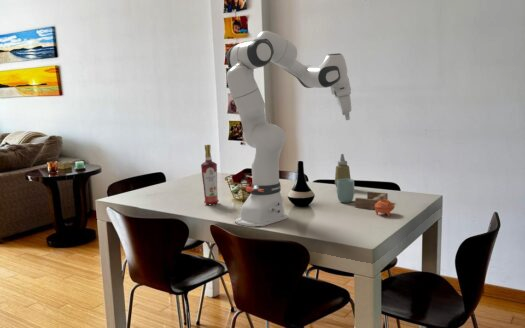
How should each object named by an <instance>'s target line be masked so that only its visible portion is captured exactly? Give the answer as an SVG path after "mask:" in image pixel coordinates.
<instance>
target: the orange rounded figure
mask: <svg viewBox="0 0 525 328" xmlns="http://www.w3.org/2000/svg"><path fill="white" fill-rule="evenodd" d="M374 208H375V214H376V215H379V213H380V214H386V215H387V217H390V215H391V212H392V211H393V210H394V209H395V204H394V203H392V202H391V201H390V200H389V199H388V200H380V201H379V202H377V203H376V204H375V206H374Z"/></svg>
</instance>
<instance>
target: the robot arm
mask: <svg viewBox="0 0 525 328" xmlns="http://www.w3.org/2000/svg"><path fill="white" fill-rule="evenodd" d="M297 57H298V49H297V46H295V45H294V44H293V42H291V41H289V40H288V39H286V38H285V37H283V36H281V35H280V34H277V33H275V32H272V31H270V30H262V31H261V32H259V33H258V34H257V35H256V37H255V39H253V40H246V41H242V42H240V43H236V44H234V45H233V46H232V47H230V48H229V50H228V51H227V53H226V61H227V64H228V65H227V67H228V70H227V72H226V82H227V85H228V86H227V87H228V89H229V92H230V95H231V98H232V100H233V102H234V105H235V107H236V110H237V112H238V114H239V117H240V122H241V126H242V139H243V141H244V142H245V144H247V145H248V146H249V147H251V148H252V149H255V155H254V160H253V162H252V164H251V177H252V178H251V179H252V183H251V186H246V188H245V190H246V192H248V193H250V195H248V197H247V198H246V200H245V201H244V203H243V204H242V206H241V208H240V217H237V218H236V219H235V220H234V223H235V222H236V223H235V224H237V225H240V226H246V227H255V226H261V227H264V226H265V227H266V226H269V225H272V224H274V223H277V222H280V221H283V220H286V219H288V216H287V214H286V213H285V212H286V211H285V205H284V198H283V196H282V195H281V189H282V186H281V182H280V170H279V169H280V167H279V166H280V159H281V157H280V156H281V152H282V149H283V147H284V146H285V145H286V142H287V135H286V133H285V131H284V129H282V128H281V127H279V126H278V125H276V124H274V123H269V122H268V121H267V117H266V103H265V101H264V98H263V96H262V93H261V91H260V89H259V86H258V82H257V81H256V79H255V76H254V75H255V74H254V70H255V69H258V68H262V67H265V66H267V65H268V64H269V63H272V64H274V65H276V66H278V67H280V68H282V69H283V70H284V71H285V72H287V73H289V74H290V75H292V76H294V78H296V79H297V80H298V82H299V83H300V85H301V86H303V87H304V88H307V89H313V88H315V89H316V88H319V89H321V88H323V89H325V88H329V87H330V92H331V95H334V97H335V98H336V103H337V105H338V106H339V109H340V110H341V114H342V116H344V119H345V120H346V121H350V120H351V118H350V112H352V100H351V94H352V93H351V92H352V91H351V90H352V89H351V83H350V78H349V77H348V67H347V63H346V59H345V56H344V55H343V54H342V53H328V54H326V55H325V58H324V60H323V61H322V63H321V64H319V65H304V64H303V63H302V62H301V61H299V60H298V59H297Z"/></svg>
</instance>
